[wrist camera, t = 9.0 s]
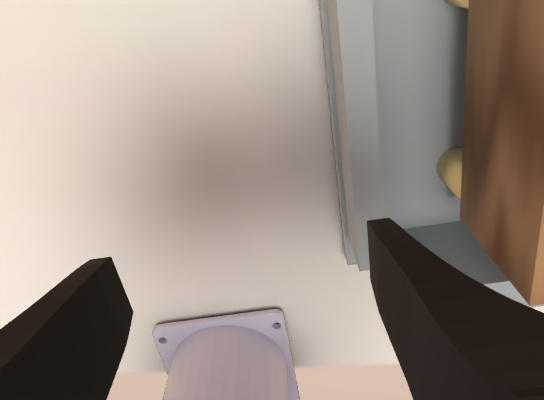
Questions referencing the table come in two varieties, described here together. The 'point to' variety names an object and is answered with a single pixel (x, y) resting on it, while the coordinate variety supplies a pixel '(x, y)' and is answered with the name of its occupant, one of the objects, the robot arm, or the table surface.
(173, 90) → the table surface
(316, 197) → the table surface
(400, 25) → the peg stand
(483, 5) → the board
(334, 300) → the table surface
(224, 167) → the table surface
